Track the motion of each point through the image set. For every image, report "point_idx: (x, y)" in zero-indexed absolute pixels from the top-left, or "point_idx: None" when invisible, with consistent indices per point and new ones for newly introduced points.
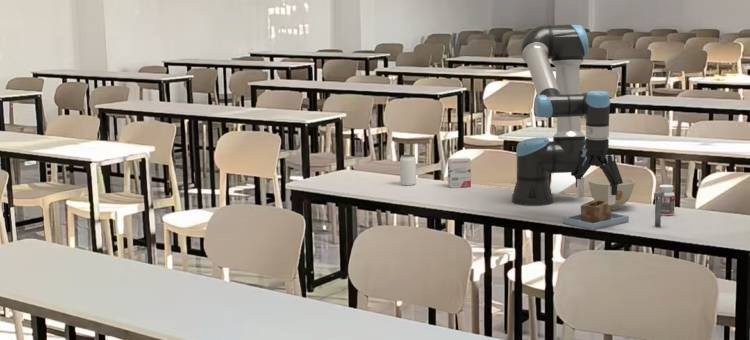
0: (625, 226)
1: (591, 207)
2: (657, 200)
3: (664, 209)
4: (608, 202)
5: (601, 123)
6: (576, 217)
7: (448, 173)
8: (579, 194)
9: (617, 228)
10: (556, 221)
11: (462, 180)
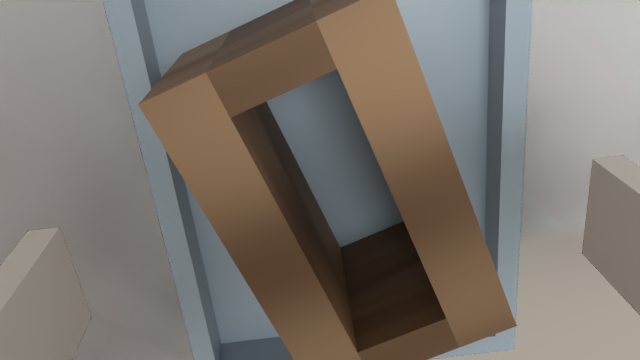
0: (606, 32)
1: (429, 351)
2: None
3: None
4: (603, 268)
5: None
6: (196, 261)
7: None
8: (71, 336)
9: (597, 141)
10: (113, 346)
11: None
